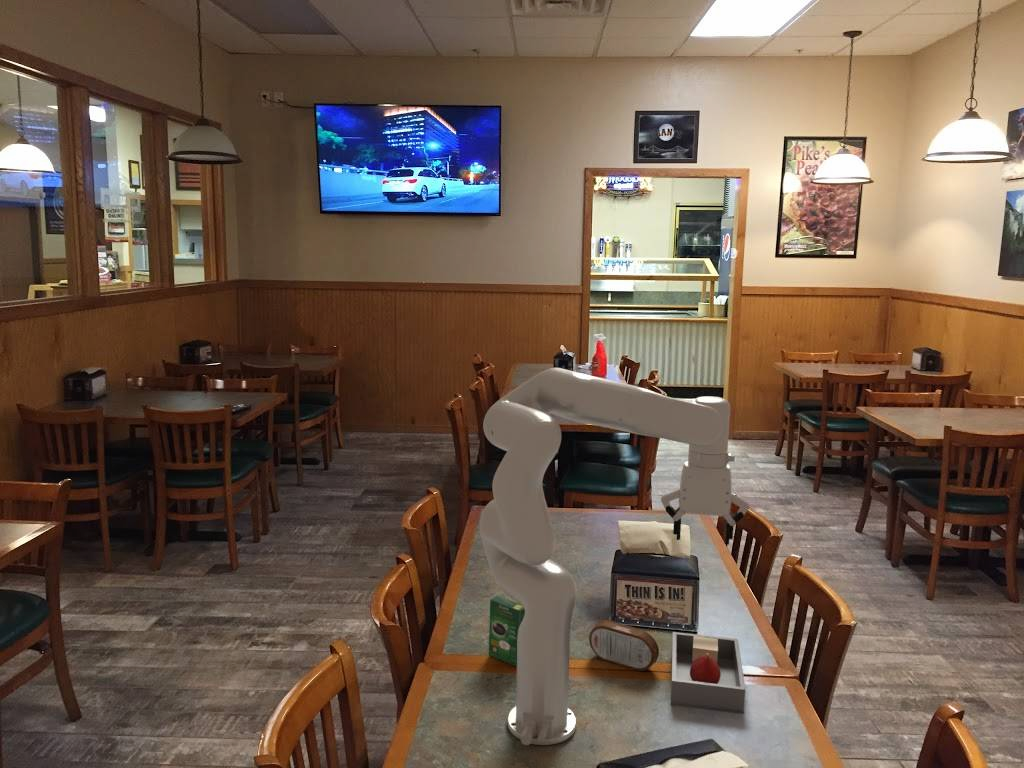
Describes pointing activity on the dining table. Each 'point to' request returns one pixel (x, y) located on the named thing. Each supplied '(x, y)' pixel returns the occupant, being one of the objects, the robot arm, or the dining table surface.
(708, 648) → the maple cube
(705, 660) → the onion
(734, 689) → the tote
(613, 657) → the tin
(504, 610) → the coffee box
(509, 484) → the robot arm
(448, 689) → the dining table surface
